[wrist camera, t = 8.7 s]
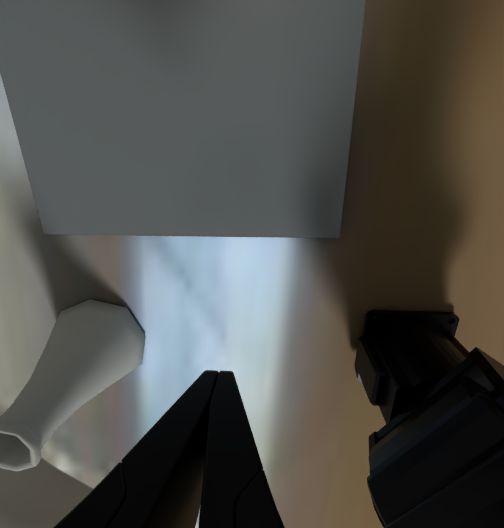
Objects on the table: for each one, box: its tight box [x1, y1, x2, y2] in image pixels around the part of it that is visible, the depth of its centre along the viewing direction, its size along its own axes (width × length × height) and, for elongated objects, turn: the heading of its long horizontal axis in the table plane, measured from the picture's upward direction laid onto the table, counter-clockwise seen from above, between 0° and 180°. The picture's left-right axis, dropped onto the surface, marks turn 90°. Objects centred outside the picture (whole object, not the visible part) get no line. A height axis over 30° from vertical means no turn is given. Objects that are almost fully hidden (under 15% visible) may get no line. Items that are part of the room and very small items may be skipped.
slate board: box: [0, 0, 366, 238], centre depth 17 cm, size 20×20×1 cm
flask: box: [0, 299, 145, 471], centre depth 20 cm, size 7×7×10 cm
